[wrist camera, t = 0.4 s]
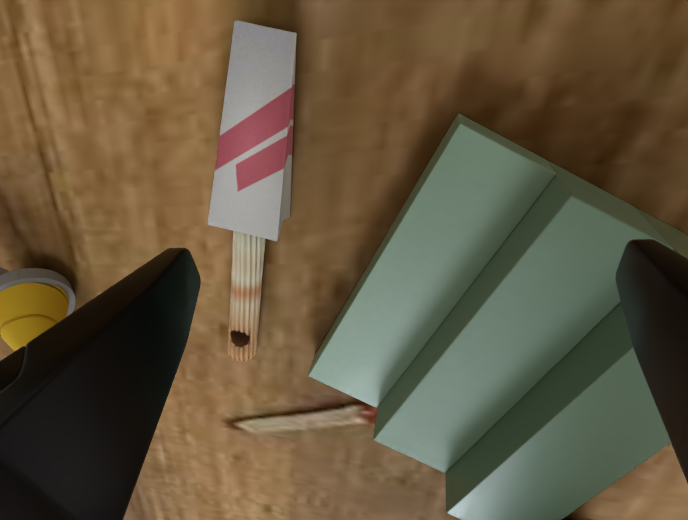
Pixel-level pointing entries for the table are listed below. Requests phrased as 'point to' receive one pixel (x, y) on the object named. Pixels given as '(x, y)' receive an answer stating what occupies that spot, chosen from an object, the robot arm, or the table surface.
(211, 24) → the table surface
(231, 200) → the paintbrush
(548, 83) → the table surface
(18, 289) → the yellow cone with collar
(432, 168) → the staircase
